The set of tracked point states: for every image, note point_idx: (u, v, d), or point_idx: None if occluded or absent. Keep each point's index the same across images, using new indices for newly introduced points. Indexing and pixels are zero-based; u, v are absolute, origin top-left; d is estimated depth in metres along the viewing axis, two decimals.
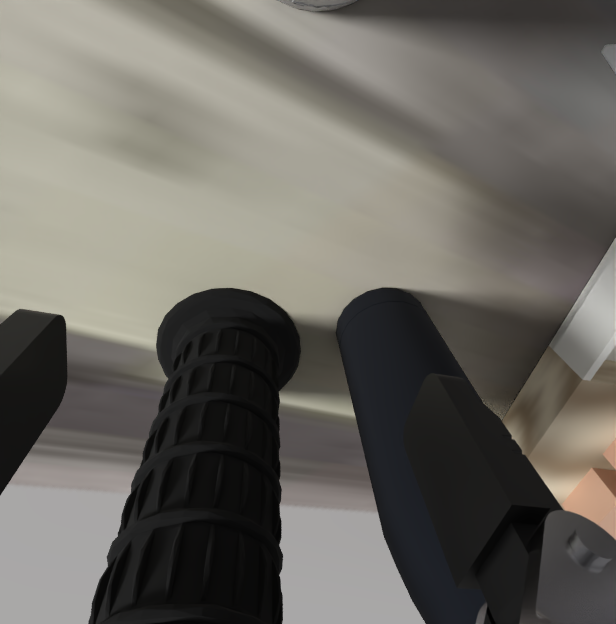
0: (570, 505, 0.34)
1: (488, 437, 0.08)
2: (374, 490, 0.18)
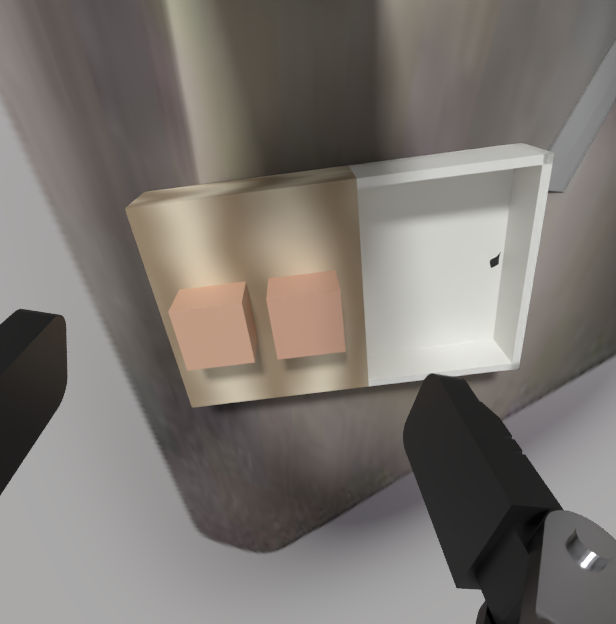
0: (188, 292, 0.28)
1: (488, 437, 0.08)
2: None
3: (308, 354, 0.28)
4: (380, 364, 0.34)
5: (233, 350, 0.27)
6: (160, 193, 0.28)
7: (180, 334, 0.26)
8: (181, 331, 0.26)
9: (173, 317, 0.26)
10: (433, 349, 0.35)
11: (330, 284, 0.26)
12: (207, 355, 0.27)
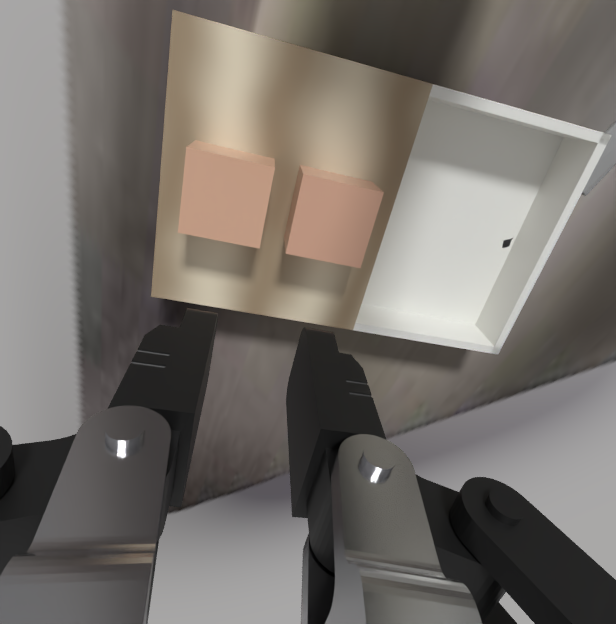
0: (207, 144, 0.23)
1: (329, 378, 0.08)
2: None
3: (320, 258, 0.24)
4: (367, 314, 0.32)
5: (241, 225, 0.23)
6: None
7: (188, 182, 0.22)
8: (191, 178, 0.22)
9: (189, 156, 0.21)
10: (419, 317, 0.34)
11: (371, 186, 0.24)
12: (209, 220, 0.23)
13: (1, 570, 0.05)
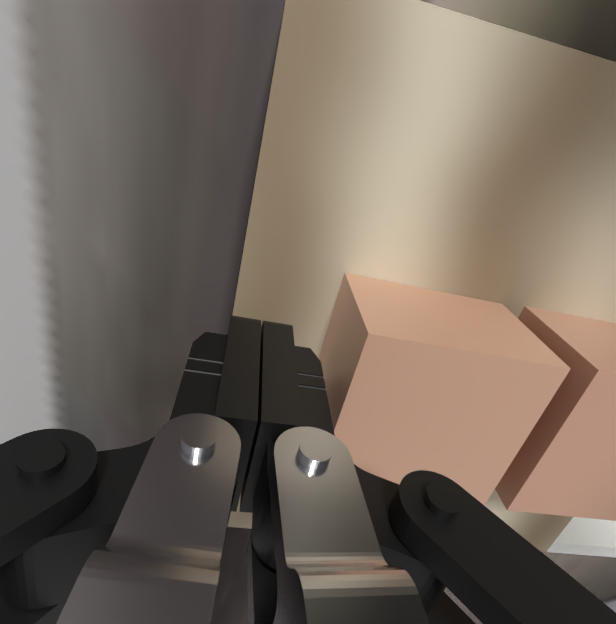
0: (377, 287, 0.10)
1: (279, 370, 0.08)
2: None
3: (577, 513, 0.11)
4: None
5: (456, 474, 0.10)
6: None
7: (357, 403, 0.09)
8: (365, 396, 0.09)
9: (372, 353, 0.08)
10: None
11: None
12: (387, 470, 0.10)
13: None
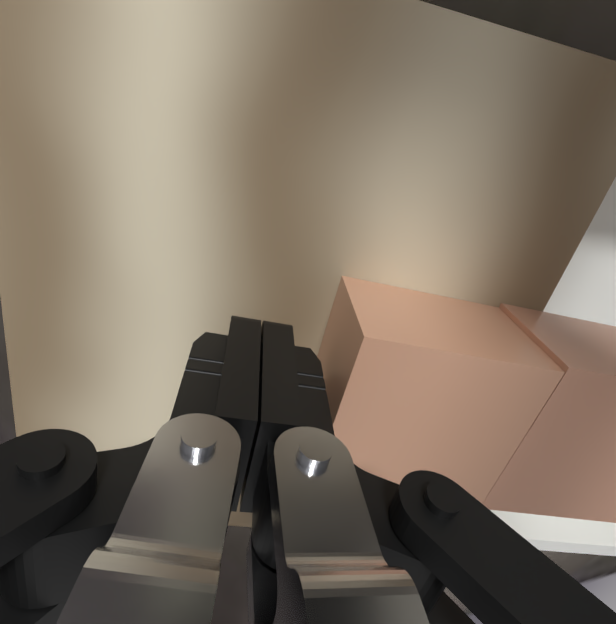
0: (373, 291, 0.10)
1: (279, 370, 0.08)
2: None
3: (550, 512, 0.11)
4: None
5: (451, 476, 0.10)
6: None
7: (353, 405, 0.09)
8: (361, 398, 0.09)
9: (367, 356, 0.08)
10: None
11: None
12: (383, 472, 0.10)
13: None
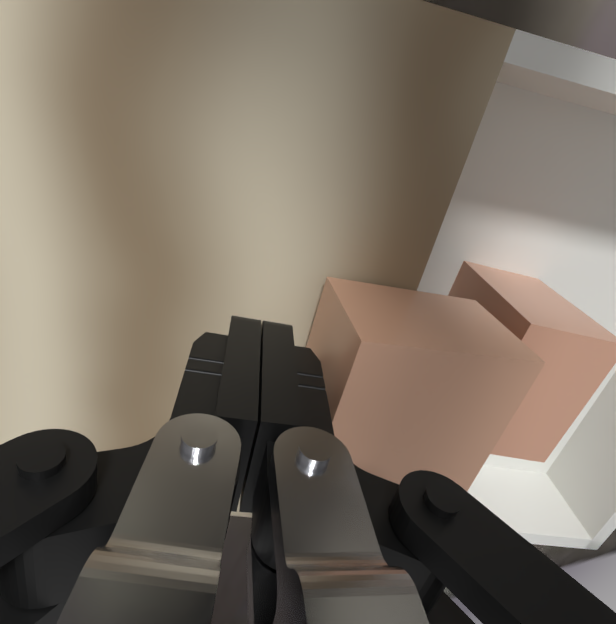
0: (360, 291, 0.10)
1: (279, 370, 0.08)
2: None
3: None
4: None
5: (441, 467, 0.11)
6: None
7: (350, 407, 0.09)
8: (358, 400, 0.09)
9: (364, 359, 0.08)
10: None
11: (521, 278, 0.15)
12: (378, 468, 0.10)
13: None
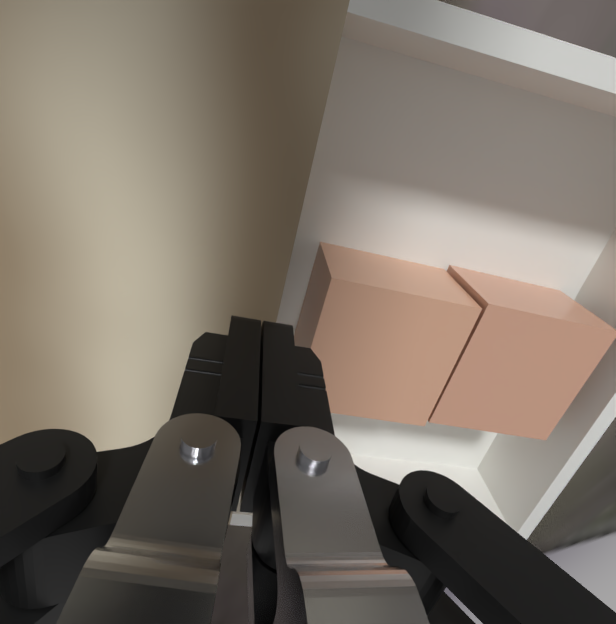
0: (343, 252, 0.13)
1: (279, 370, 0.08)
2: None
3: None
4: None
5: (403, 394, 0.13)
6: None
7: (325, 332, 0.12)
8: (331, 327, 0.12)
9: (334, 293, 0.11)
10: (375, 465, 0.18)
11: (474, 279, 0.14)
12: (350, 389, 0.13)
13: None
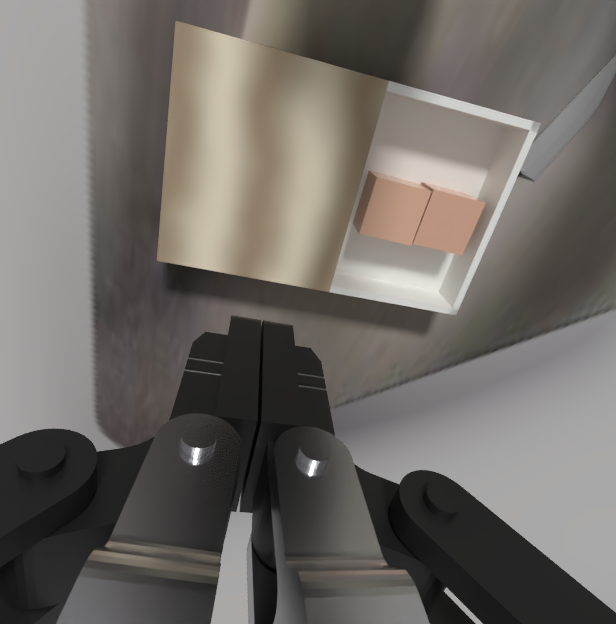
0: (378, 173, 0.34)
1: (280, 370, 0.08)
2: None
3: None
4: (342, 280, 0.37)
5: (402, 229, 0.34)
6: None
7: (373, 200, 0.33)
8: (375, 197, 0.32)
9: (377, 183, 0.32)
10: (389, 284, 0.39)
11: (431, 185, 0.34)
12: (381, 226, 0.34)
13: None
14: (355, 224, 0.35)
